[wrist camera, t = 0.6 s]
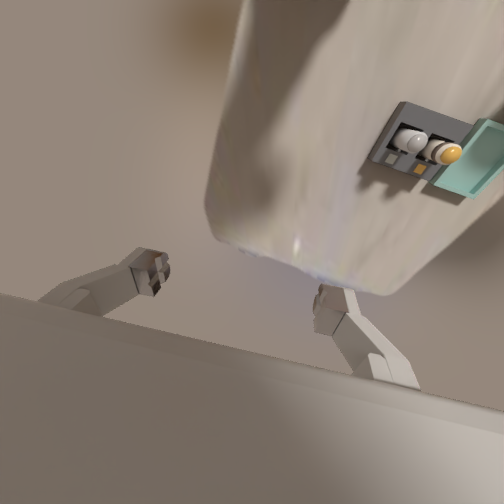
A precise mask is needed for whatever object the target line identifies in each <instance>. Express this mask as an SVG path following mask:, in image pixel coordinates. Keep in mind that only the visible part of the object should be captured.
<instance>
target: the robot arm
mask: <svg viewBox="0 0 504 504" xmlns="http://www.w3.org/2000/svg"><path fill="white" fill-rule="evenodd" d="M168 259H169V258H168V254H167V253H165V252H160V251H156V250H151V249H145V248H142V247H138V248H136V249H135V250H134V251H133V252H132V253H131V254H129V255H128V256H127V257H126V258H125V259H124V260H123V261H121V262H120V263H119V264H118V265H115V264H114V265H112V266H109V267H106V268H103V269H100V270H97V271H94V272H91V273H88V274H86V275H83V276H80V277H77V278H74V279H71V280H68V281H65V282H63V283H60V284H59V285H58V286H56V287H55V288H54V289H52V290H51V291H50V292H48V293H47V294H46V295H44V296H43V297H42V298H40V299H39V300H38V301H32V300H28V299H24V298H20V297H15V296H11V295H6V294H2V293H0V504H504V411H502V410H498V409H494V408H490V407H485V406H481V405H477V404H472V403H468V402H464V401H459V400H455V399H450V398H446V397H442V396H438V395H434V394H429V393H425V392H422V391H421V389H420V387H419V384H418V382H417V380H416V377H415V375H414V373H413V370H412V368H411V365H410V363H409V361H408V360H407V359H406V358H405V357H404V356H403V355H402V354H401V353H400V352H399V351H398V350H397V349H396V348H395V347H394V346H393V345H392V344H391V343H390V342H389V341H388V340H387V339H386V338H385V337H384V336H383V335H382V334H381V333H380V332H379V331H378V330H377V329H376V328H375V327H374V326H373V324H372V323H371V322H369V321H368V320H367V318H366V317H364V316H361V313H360V310H359V306H358V303H357V300H356V296H355V293H354V291H353V289H348V288H343V287H342V288H341V287H336V286H331V285H326V284H321V285H320V286H319V289H318V291H319V294H317V295H316V296H315V299H314V303H313V314H314V315H315V319H314V332H316V333H321V334H324V335H329V336H332V338H333V340H334V341H335V343H336V345H337V346H338V348H339V349H340V351H341V352H342V354H343V355H344V357H345V359H346V360H347V362H348V363H349V365H350V366H351V368H352V370H353V371H354V372H353V373H352V375H348V374H344V373H340V372H335V371H331V370H327V369H323V368H318V367H314V366H310V365H306V364H302V363H297V362H293V361H289V360H284V359H280V358H276V357H271V356H267V355H263V354H258V353H254V352H250V351H246V350H241V349H237V348H233V347H229V346H224V345H220V344H216V343H212V342H207V341H203V340H199V339H195V338H190V337H186V336H182V335H178V334H173V333H169V332H165V331H161V330H156V329H152V328H148V327H143V326H139V325H135V324H131V323H126V322H122V321H118V320H114V319H109V318H105V317H103V315H105V314H107V313H108V312H110V311H112V310H113V309H115V308H117V307H119V306H120V305H122V304H124V303H125V302H127V301H129V300H131V299H132V298H134V297H136V296H137V295H138V294H142V295H147V296H153V297H154V296H155V295H156V294H157V292H158V291H159V290H160V288H161V284H162V283H164V282H166V280H167V279H168V277H169V274H170V265H169V264H168V263H167V260H168Z"/></svg>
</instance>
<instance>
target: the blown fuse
mask: <svg viewBox="0 0 504 504" xmlns="http://www.w3.org/2000/svg"><path fill="white" fill-rule="evenodd" d="M461 154H462V148H461V147H460V146H459V145H457V144H454V143H450V142H445V141H440V140H436V139H432V138H428V141H427V144H426V146H425V147H424V148H423V149H422V150H421V151H419V152H418V155H420V156H422V157H425V158H427V159H430V160H432V161H434V162H436V163H439V164H442V165H449V164H451V163H454V162H455V161H457V160H458V159H459V158H460V156H461Z"/></svg>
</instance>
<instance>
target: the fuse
mask: <svg viewBox="0 0 504 504" xmlns="http://www.w3.org/2000/svg"><path fill="white" fill-rule="evenodd" d="M427 141H428V137H427V135H426V134H425V133H423V132H419V131H414V130H410V129H405V128H398V129H397V130H396V131H395V133H394V134H393V136H392V138H391V139H390V141H389V143H390V145H392V146H394V147H396V148H399V149H401V150H403V151H406V152H408V153H417V152H419V151H421V150H422V149H423V148H424V147H425V146H426V144H427Z"/></svg>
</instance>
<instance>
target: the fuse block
mask: <svg viewBox="0 0 504 504" xmlns="http://www.w3.org/2000/svg"><path fill="white" fill-rule="evenodd" d="M400 123H402V124H405V125H408V126H410V127H413V128H416V130H415V131H419V132H423V133H425V134H426V135H427V137H428V138H429V137H430V136H431V134H433V135H436V136H438V137H441V138H444V139H445V142H450V143H454V144H457V145H459V144H460V143H461V141H462V140H463V139H464V138H465V136H466V135H467V134H468V133H469V131H470V130H471V129H472V128H473V126H474V125H471V124H468V123H465V122H463V121H460V120H457V119H454V118H451V117H449V116H446V115H443V114H440V113H437V112H435V111H432V110H429V109H426V108H423V107H421V106H418V105H415V104H412V103H410V102H400V103H399V105H398V106H397V108H396V110H395V112H394V113H393V115H392V117H391V118H390V120H389V122H388V124H387V125H386V127H385V129H384V131H383V132H382V134H381V136H380V137H379V139H378V141H377V143H376V144H375V146H374V148H373V149H372V151H371V153H370V155H369V156H368V159H370V160H371V161H373V162H376V163H379V164H382V165H385V166H388V167H390V168H393V169H396V170H399V171H402V172H405V173H407V174H410V175H413V176H416V177H419V178H422V179H424V180H427V181H430V180H431V179H432V178H433V176H434V175H435V174H436V173H437V171H438V170H439V169H440V168H441V166H442V164H439V163H436V162H434V161H432V160H429V162H426V161H423V160H420V159H417V158H415V157H416V155H417V154H418V152H417V153H408V152H406V151H403V150H402V151H401V153H400V152H398V151H395V150H392V149H389V148H386V146H387V144H388V143H389V141H390V139H391V138H392V136H393V134H394V133H395V131H396V130H397V128H398V126H399V125H400Z"/></svg>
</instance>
